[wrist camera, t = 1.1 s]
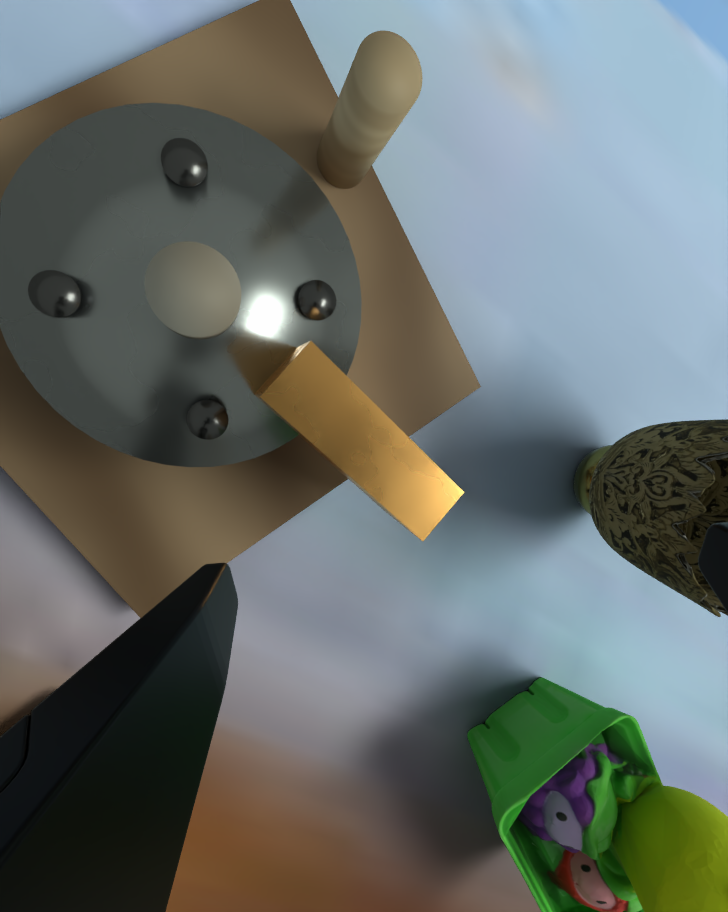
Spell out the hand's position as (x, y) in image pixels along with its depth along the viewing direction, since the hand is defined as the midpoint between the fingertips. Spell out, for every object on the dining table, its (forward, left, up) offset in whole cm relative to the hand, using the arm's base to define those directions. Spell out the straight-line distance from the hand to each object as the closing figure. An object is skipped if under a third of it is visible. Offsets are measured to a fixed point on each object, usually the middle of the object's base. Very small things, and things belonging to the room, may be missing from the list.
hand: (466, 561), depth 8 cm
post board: (-1, +7, -11) cm, 13 cm away
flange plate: (-1, +5, -8) cm, 10 cm away
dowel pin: (+6, +9, -11) cm, 15 cm away
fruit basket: (+1, -21, -11) cm, 23 cm away
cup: (+11, -9, -11) cm, 18 cm away
